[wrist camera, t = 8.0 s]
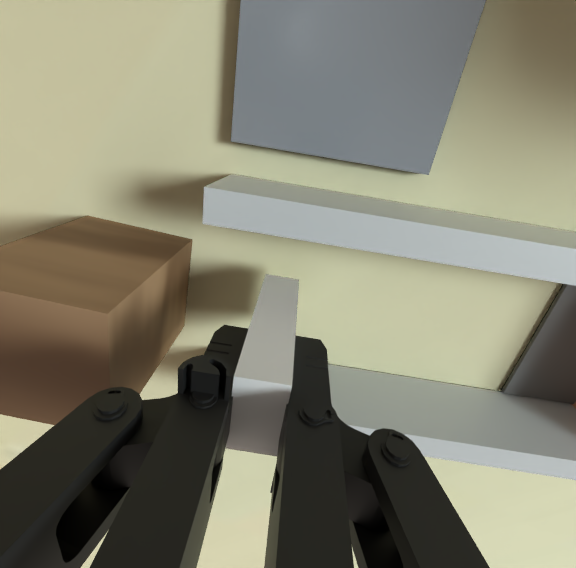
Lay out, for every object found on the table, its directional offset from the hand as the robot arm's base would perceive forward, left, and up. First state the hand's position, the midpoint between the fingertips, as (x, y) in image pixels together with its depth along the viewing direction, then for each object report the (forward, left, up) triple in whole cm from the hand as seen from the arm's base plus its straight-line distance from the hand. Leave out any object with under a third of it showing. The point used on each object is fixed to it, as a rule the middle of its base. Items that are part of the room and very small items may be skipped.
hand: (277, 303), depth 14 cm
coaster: (-10, +1, -2) cm, 11 cm away
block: (+1, -7, -2) cm, 7 cm away
